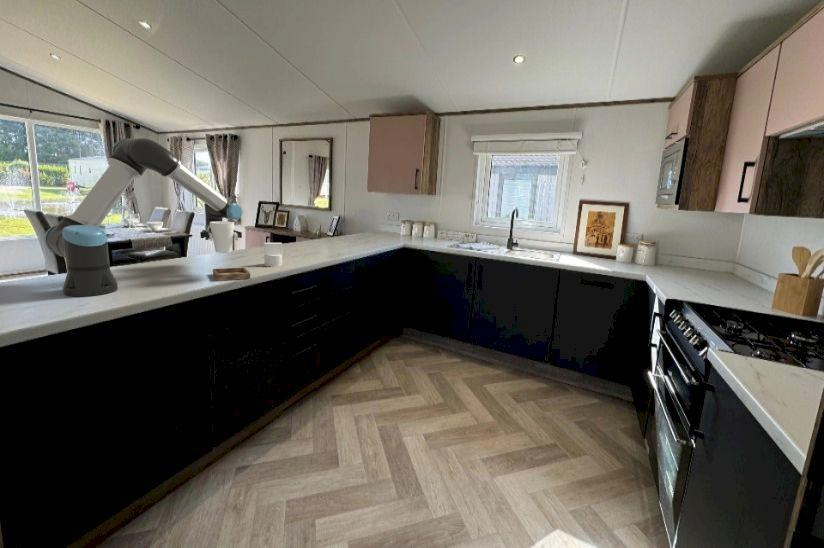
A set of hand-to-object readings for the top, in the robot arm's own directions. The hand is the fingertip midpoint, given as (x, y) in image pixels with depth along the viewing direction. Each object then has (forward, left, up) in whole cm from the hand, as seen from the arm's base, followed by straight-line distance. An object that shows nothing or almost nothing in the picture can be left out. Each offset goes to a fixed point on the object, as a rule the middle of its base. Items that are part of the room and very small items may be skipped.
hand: (224, 237), depth 161 cm
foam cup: (0, +4, -7) cm, 8 cm away
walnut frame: (+3, +5, -19) cm, 20 cm away
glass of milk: (+27, +27, -19) cm, 43 cm away
